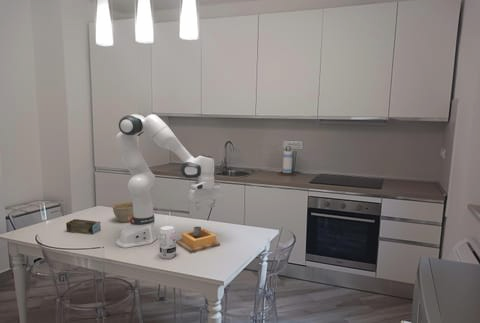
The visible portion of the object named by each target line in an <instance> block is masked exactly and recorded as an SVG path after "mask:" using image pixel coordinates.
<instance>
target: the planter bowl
mask: <svg viewBox="0 0 480 323" xmlns="http://www.w3.org/2000/svg"><path fill="white" fill-rule="evenodd" d="M112 212H113V213H114V214H113V215H114V217H116V219H117V220H118V222H120V223H129V222H130V221H129V220H128V219H127V218H128V217H131V218H132V217H133V202H132V201H123V202H118V203H115V204H113V205H112Z"/></svg>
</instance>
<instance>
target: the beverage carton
mask: <svg viewBox="0 0 480 323" xmlns="http://www.w3.org/2000/svg"><path fill="white" fill-rule="evenodd" d="M65 223H66V232H67V233H77V234H84V235H85V234H86V235H95V234H96V233H99V232H101V231H102V228H101V221H95V220H87V219H77V218H75V219H72V220H70V221H67V222H65Z"/></svg>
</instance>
